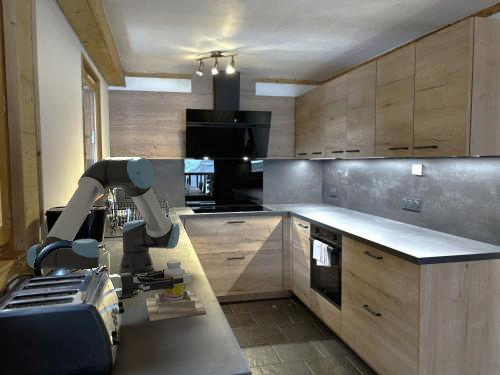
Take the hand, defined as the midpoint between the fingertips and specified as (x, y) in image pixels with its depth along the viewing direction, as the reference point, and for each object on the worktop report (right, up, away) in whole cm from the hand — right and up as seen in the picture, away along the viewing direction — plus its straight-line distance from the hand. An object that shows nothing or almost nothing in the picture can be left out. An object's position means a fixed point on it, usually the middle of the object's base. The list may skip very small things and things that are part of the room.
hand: (187, 275), depth 133 cm
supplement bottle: (-4, -8, -2) cm, 9 cm away
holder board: (-4, -11, -2) cm, 12 cm away
